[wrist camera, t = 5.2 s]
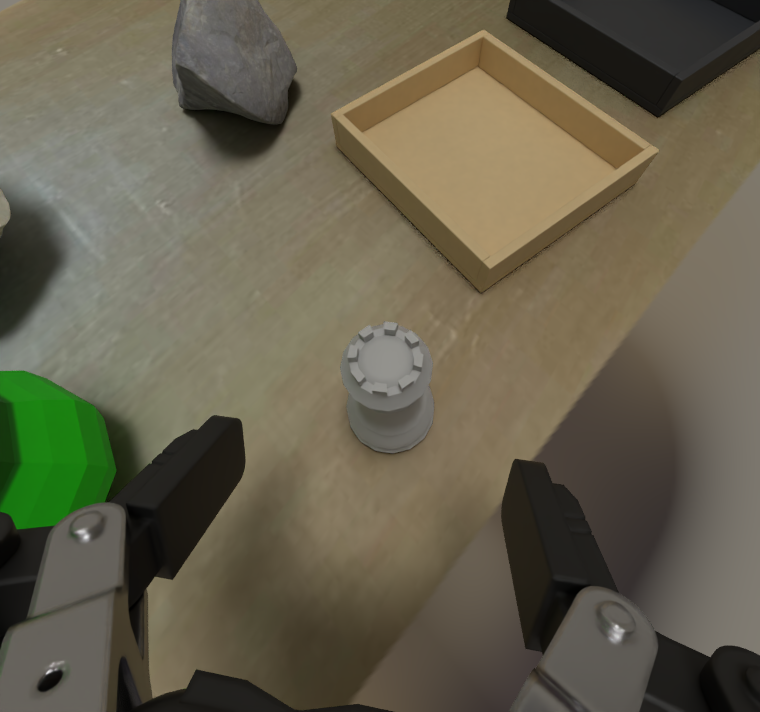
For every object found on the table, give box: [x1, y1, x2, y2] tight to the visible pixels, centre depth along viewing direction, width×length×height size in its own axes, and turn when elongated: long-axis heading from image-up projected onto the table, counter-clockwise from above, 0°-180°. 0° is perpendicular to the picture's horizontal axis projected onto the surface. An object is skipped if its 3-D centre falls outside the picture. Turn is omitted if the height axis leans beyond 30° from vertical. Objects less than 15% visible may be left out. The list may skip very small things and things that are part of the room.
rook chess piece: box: [340, 322, 434, 453], centre depth 16 cm, size 4×4×8 cm
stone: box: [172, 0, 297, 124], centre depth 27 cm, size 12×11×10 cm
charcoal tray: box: [507, 0, 760, 117], centre depth 29 cm, size 15×13×2 cm
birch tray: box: [331, 30, 659, 293], centre depth 25 cm, size 15×13×2 cm
